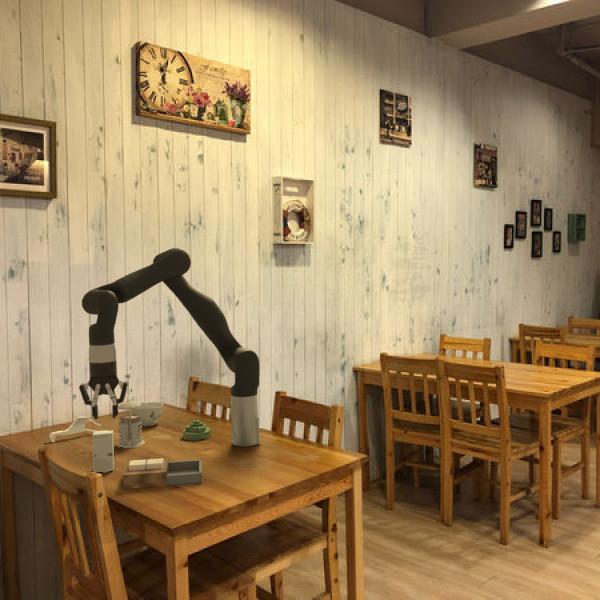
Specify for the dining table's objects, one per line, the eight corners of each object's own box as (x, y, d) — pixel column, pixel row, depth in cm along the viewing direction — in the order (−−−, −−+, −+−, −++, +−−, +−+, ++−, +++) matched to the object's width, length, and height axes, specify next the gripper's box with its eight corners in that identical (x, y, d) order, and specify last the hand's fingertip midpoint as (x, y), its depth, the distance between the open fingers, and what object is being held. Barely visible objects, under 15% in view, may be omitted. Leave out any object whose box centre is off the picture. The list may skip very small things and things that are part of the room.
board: (169, 471, 194) (168, 459, 194) (166, 485, 182) (166, 471, 182) (128, 474, 192) (128, 461, 192) (123, 489, 180) (123, 475, 180)
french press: (146, 439, 231) (143, 370, 229) (143, 448, 220) (140, 376, 218) (118, 441, 229) (115, 372, 228) (114, 450, 218) (111, 378, 216)
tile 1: (146, 464, 189) (146, 459, 189) (145, 469, 185) (144, 464, 185) (130, 465, 189) (130, 460, 188) (129, 470, 184) (128, 465, 184)
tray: (202, 468, 196) (201, 459, 196) (202, 483, 183) (201, 473, 183) (169, 471, 195) (168, 461, 194) (166, 486, 182) (166, 475, 182)
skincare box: (93, 473, 194) (91, 434, 193) (94, 469, 199) (92, 431, 198) (114, 471, 196) (112, 433, 195) (114, 467, 200) (113, 429, 199)
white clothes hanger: (92, 449, 241) (46, 440, 230) (102, 420, 243) (57, 410, 232) (94, 450, 240) (48, 441, 228) (104, 421, 242) (59, 411, 231)
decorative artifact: (190, 442, 226) (215, 437, 231) (189, 423, 225) (215, 418, 231) (178, 436, 234) (203, 431, 240) (178, 417, 233) (202, 413, 239)
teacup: (170, 424, 251) (169, 404, 251) (141, 430, 243) (140, 410, 242) (151, 417, 262) (150, 398, 262) (123, 423, 254) (122, 404, 253)
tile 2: (163, 463, 190) (163, 458, 190) (162, 468, 185) (162, 463, 185) (148, 464, 189) (147, 459, 189) (146, 469, 185) (146, 464, 185)
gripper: (129, 356, 188) (132, 413, 189) (79, 358, 186) (82, 416, 187) (126, 360, 181) (129, 419, 182) (74, 362, 179) (77, 422, 180)
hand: (105, 417), depth 184 cm, fingers open, 4 cm apart
